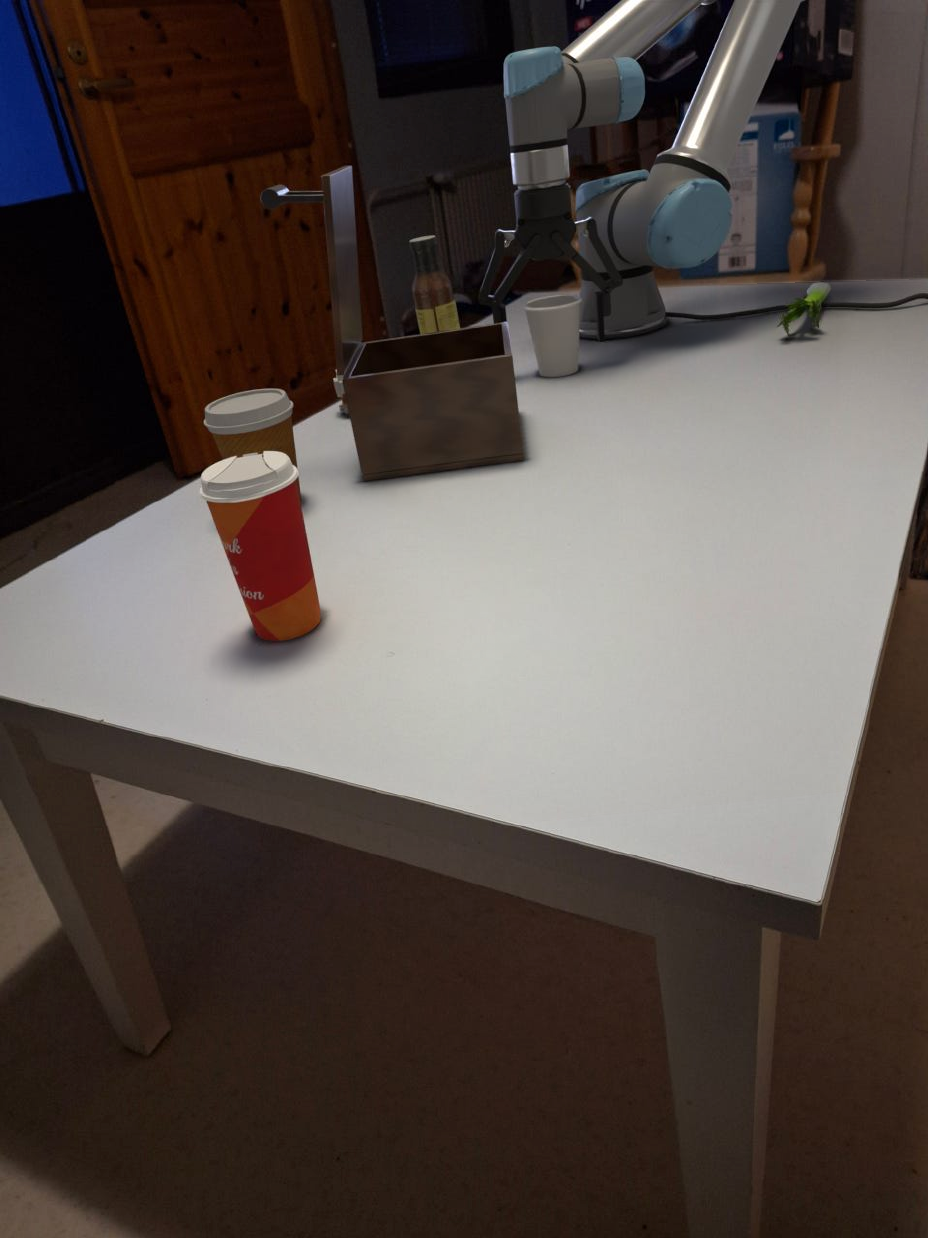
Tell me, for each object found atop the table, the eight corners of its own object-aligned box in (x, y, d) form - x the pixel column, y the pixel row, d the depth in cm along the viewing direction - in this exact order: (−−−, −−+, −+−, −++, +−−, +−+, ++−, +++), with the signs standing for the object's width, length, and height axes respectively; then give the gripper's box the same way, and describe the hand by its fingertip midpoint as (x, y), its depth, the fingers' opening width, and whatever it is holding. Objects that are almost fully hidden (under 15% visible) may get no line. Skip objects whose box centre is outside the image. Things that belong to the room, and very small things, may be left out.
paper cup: (249, 609, 79) (203, 458, 72) (335, 595, 79) (298, 442, 72) (236, 655, 72) (185, 493, 65) (331, 640, 72) (290, 475, 65)
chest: (518, 414, 117) (507, 321, 111) (524, 460, 101) (512, 355, 96) (378, 433, 118) (360, 342, 112) (363, 481, 103) (341, 379, 97)
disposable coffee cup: (330, 489, 102) (306, 384, 96) (290, 524, 95) (261, 413, 89) (258, 489, 106) (231, 389, 100) (214, 523, 98) (182, 417, 92)
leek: (840, 306, 149) (824, 337, 124) (796, 314, 152) (771, 346, 128) (838, 267, 146) (820, 292, 122) (793, 276, 150) (767, 302, 126)
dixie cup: (594, 362, 133) (589, 292, 128) (577, 378, 127) (571, 306, 122) (541, 364, 137) (534, 296, 132) (522, 380, 130) (514, 309, 126)
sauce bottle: (468, 364, 143) (449, 230, 134) (465, 374, 138) (445, 236, 128) (428, 369, 144) (407, 237, 135) (423, 379, 139) (400, 243, 129)
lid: (351, 165, 103) (279, 166, 103) (329, 175, 87) (244, 176, 87) (362, 339, 112) (296, 339, 112) (344, 375, 97) (267, 375, 97)
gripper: (631, 170, 122) (636, 329, 132) (449, 195, 124) (468, 351, 134) (639, 173, 116) (644, 340, 126) (448, 200, 117) (468, 362, 128)
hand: (554, 346), depth 130 cm, fingers open, 13 cm apart
